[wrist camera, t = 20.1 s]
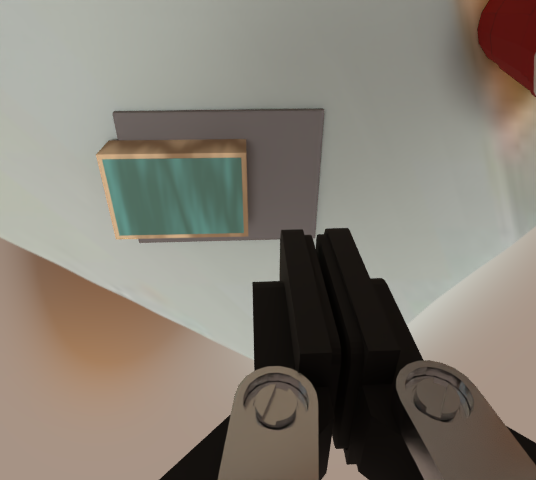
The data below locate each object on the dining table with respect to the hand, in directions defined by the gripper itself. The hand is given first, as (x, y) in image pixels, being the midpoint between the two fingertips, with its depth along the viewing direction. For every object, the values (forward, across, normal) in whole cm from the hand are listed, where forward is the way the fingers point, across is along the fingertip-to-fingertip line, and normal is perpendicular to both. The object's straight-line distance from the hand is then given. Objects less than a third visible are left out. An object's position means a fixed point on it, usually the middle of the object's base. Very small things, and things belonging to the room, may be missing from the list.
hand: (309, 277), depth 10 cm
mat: (+27, +4, +9) cm, 29 cm away
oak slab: (+25, +2, +9) cm, 26 cm away
